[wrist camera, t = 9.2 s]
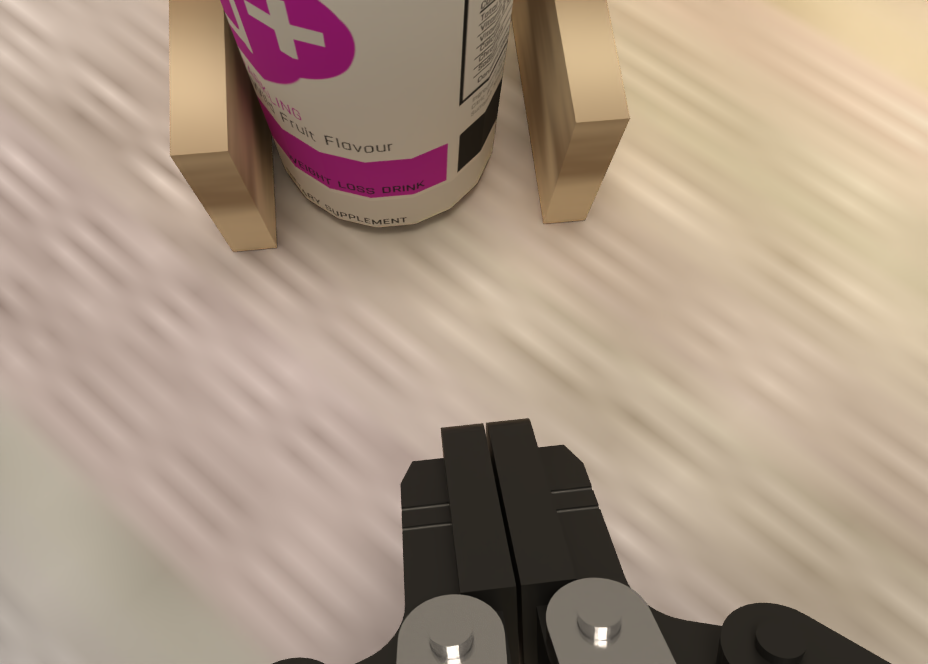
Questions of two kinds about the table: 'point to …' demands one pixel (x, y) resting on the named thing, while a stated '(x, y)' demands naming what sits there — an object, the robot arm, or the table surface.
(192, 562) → the table surface
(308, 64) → the supplement can
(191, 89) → the cradle
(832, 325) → the table surface
